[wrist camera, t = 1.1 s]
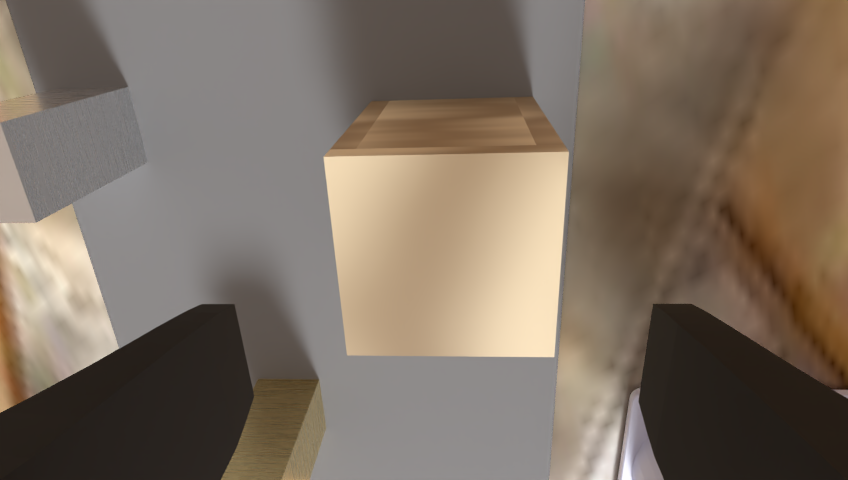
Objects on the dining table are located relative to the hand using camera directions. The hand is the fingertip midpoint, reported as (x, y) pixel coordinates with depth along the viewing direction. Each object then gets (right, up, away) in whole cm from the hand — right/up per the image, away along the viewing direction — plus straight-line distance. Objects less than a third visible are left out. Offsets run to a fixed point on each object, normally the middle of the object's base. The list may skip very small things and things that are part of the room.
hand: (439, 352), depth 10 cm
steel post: (-11, +6, +10) cm, 16 cm away
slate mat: (-4, +1, +11) cm, 12 cm away
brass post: (-6, -5, +14) cm, 16 cm away
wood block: (+1, +4, +9) cm, 10 cm away
